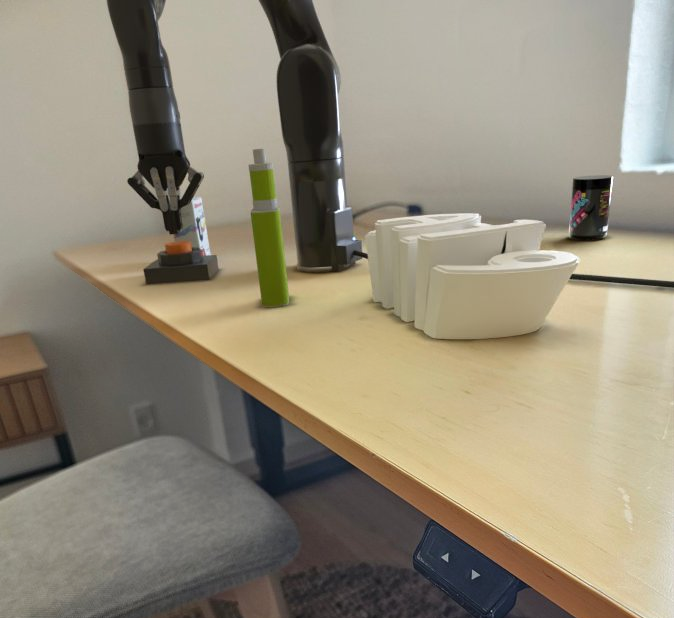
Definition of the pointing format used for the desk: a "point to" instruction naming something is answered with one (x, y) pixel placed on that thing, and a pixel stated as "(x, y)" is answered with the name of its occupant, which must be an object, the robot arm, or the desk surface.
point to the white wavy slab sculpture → (466, 274)
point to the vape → (267, 233)
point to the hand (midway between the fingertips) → (175, 233)
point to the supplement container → (590, 207)
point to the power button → (178, 247)
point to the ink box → (194, 226)
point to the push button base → (181, 267)
